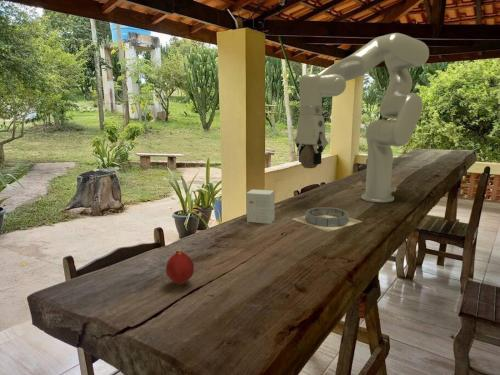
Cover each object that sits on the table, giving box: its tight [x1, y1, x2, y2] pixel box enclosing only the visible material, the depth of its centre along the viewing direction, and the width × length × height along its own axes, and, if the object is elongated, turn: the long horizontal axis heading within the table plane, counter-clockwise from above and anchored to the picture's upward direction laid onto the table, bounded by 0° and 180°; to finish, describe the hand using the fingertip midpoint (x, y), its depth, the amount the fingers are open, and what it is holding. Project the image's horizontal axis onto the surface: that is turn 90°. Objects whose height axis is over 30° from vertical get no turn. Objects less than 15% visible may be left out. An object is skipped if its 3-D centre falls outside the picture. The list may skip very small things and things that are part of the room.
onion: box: [165, 249, 195, 286], centre depth 75 cm, size 6×6×8 cm
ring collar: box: [304, 206, 350, 227], centre depth 116 cm, size 13×13×2 cm
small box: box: [245, 189, 276, 225], centre depth 116 cm, size 8×6×10 cm
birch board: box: [292, 215, 363, 233], centre depth 116 cm, size 16×16×1 cm
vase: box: [299, 145, 319, 169], centre depth 127 cm, size 7×7×9 cm
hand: (309, 162), depth 127 cm, fingers closed on vase, 6 cm apart
